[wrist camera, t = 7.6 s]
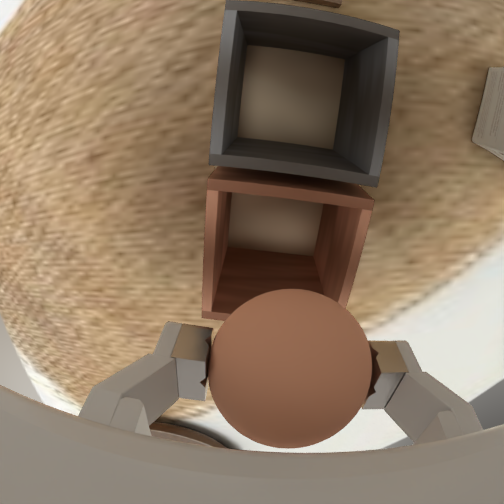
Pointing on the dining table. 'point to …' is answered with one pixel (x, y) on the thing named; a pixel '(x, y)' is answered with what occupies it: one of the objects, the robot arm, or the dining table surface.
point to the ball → (289, 368)
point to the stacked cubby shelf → (293, 151)
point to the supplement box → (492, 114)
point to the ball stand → (325, 2)
